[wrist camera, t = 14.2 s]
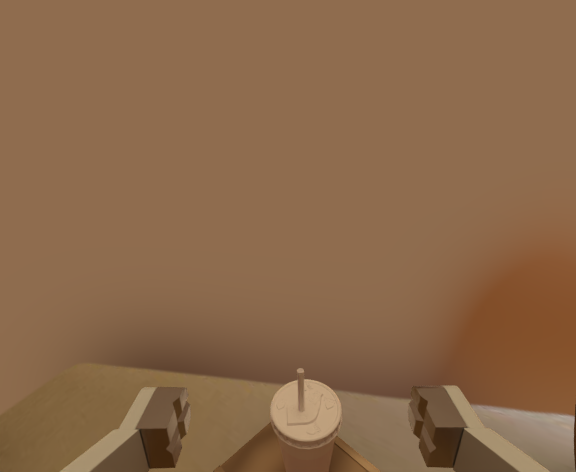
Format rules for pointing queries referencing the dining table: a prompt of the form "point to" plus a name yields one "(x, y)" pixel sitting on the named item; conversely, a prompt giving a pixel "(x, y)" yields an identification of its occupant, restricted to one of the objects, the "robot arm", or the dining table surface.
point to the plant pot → (575, 438)
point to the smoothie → (306, 424)
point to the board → (269, 462)
